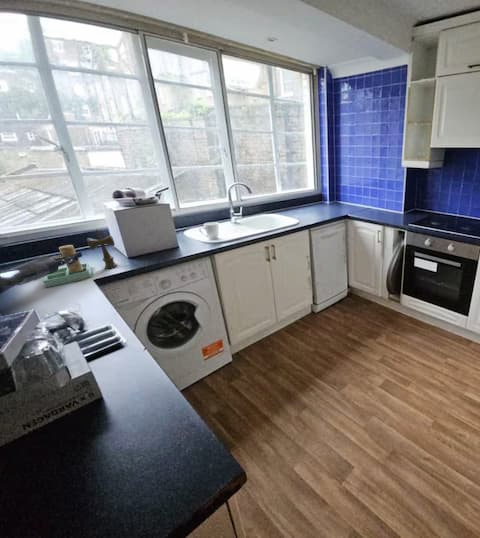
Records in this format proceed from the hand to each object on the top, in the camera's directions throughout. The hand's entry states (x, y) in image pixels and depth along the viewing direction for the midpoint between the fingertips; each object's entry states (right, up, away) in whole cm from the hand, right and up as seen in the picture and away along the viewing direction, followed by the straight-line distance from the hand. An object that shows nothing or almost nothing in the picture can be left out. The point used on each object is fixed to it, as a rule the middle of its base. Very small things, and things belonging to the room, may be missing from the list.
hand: (75, 254), depth 139 cm
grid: (-5, -11, +2) cm, 12 cm away
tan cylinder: (0, -8, 0) cm, 8 cm away
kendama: (+7, -6, +13) cm, 15 cm away
